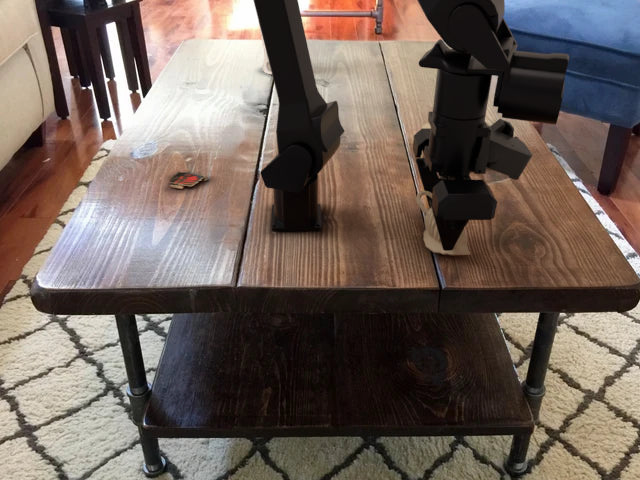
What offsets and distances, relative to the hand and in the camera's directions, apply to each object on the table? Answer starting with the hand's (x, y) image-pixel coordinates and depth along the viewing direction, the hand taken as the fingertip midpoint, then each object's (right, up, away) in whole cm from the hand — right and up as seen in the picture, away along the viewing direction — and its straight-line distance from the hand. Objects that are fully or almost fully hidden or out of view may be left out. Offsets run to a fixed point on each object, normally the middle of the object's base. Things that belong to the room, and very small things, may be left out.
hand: (442, 234), depth 79 cm
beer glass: (-25, +40, +56) cm, 73 cm away
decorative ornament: (0, -1, +1) cm, 1 cm away
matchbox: (-35, +9, +14) cm, 39 cm away
